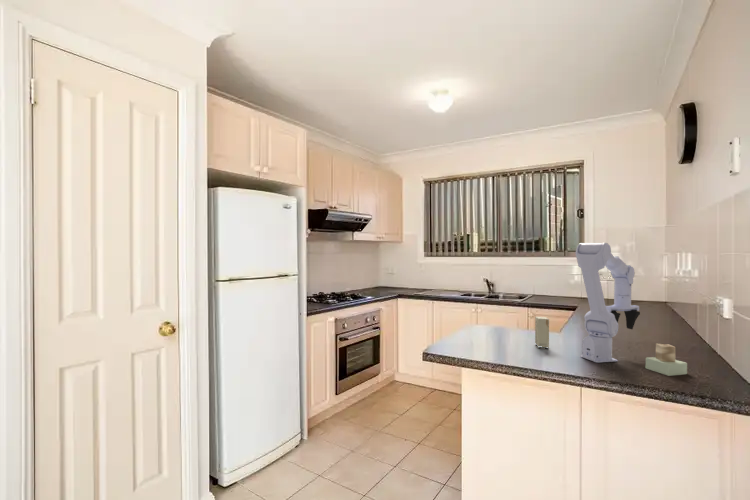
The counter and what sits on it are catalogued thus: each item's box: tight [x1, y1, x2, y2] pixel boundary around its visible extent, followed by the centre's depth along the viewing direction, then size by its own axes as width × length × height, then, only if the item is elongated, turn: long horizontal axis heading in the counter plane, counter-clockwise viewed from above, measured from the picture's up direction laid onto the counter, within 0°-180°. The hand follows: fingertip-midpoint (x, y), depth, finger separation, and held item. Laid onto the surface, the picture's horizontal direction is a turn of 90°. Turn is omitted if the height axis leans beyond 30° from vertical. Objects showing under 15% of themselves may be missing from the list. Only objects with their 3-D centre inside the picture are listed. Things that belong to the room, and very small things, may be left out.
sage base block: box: [645, 356, 688, 377], centre depth 130 cm, size 8×8×4 cm
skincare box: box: [534, 316, 550, 349], centre depth 160 cm, size 6×4×12 cm
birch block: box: [655, 343, 676, 362], centre depth 130 cm, size 4×4×5 cm
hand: (622, 329), depth 152 cm, fingers open, 7 cm apart
